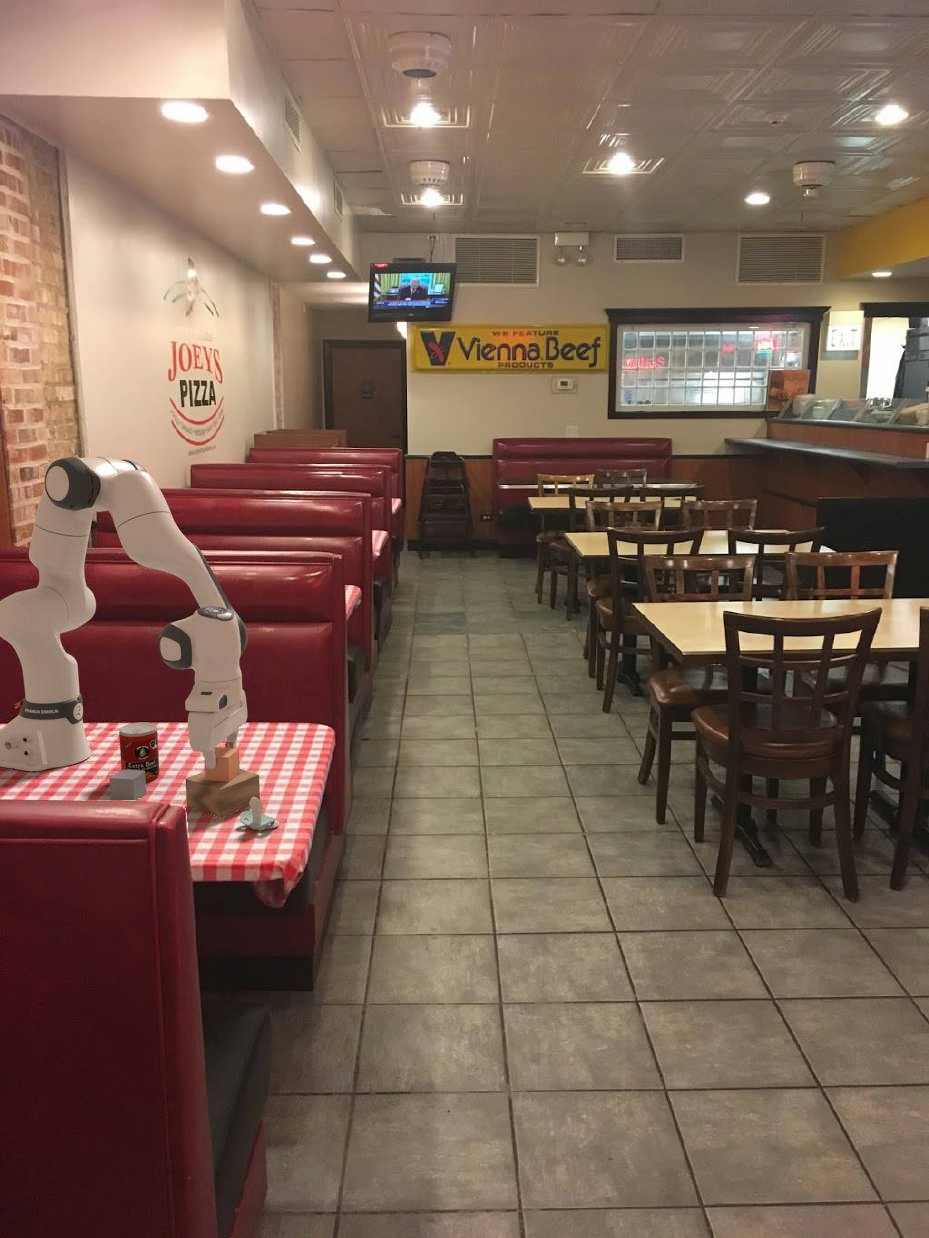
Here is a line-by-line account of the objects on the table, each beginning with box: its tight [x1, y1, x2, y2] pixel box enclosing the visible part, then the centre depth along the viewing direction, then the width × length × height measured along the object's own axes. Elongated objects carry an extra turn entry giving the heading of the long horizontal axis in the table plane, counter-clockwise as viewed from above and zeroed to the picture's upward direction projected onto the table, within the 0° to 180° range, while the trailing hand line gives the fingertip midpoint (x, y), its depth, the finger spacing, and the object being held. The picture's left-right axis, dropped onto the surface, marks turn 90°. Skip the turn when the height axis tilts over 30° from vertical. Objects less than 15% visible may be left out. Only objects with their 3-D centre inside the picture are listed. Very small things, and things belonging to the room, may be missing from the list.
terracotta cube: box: [203, 746, 241, 782], centre depth 187 cm, size 5×5×5 cm
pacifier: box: [239, 797, 280, 831], centre depth 177 cm, size 7×6×6 cm
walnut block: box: [184, 768, 261, 819], centre depth 188 cm, size 10×10×6 cm
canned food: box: [118, 721, 160, 783], centre depth 201 cm, size 8×8×11 cm
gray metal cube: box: [109, 769, 147, 801], centre depth 190 cm, size 5×5×5 cm
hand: (221, 758), depth 186 cm, fingers open, 8 cm apart
